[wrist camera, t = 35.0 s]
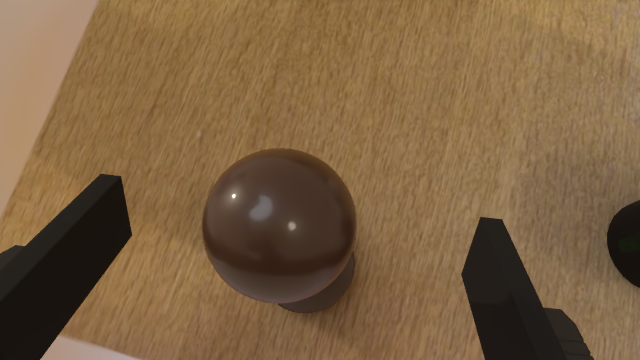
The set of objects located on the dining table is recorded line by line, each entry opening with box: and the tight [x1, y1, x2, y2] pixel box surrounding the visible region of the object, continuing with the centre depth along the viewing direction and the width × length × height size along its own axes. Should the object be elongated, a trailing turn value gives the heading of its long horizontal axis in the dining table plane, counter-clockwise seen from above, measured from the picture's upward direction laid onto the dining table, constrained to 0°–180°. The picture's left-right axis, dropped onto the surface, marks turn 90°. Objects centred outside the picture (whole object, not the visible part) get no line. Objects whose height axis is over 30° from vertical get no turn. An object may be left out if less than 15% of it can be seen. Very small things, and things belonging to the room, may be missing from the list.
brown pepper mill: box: [202, 148, 357, 313], centre depth 17 cm, size 6×6×18 cm
